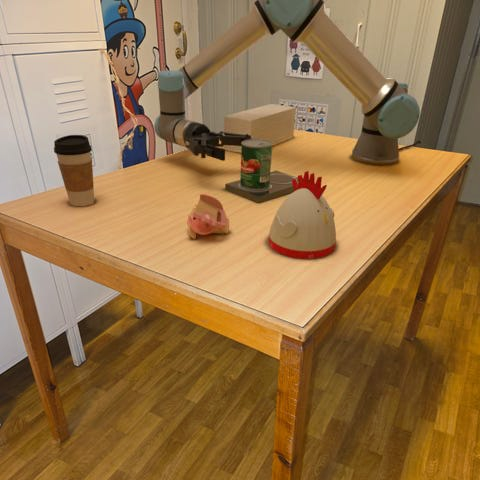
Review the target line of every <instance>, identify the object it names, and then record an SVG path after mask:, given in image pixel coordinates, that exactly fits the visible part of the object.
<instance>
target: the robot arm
mask: <svg viewBox="0 0 480 480" xmlns="http://www.w3.org/2000/svg"><path fill="white" fill-rule="evenodd" d="M280 30H281V32H283V34H285V35H286V37H288V39H290V40H291V41H292V43H302V44H303V45H304V46H305V47H306V49H308V50H309V51H310V52H311V53H312V54H313V55H314V56H315V57H316V58H317V60H318V61H320V63H322V65H324V67H325V68H326V69H327V70H328V71H329V72H330V73H331V74H332V75H333V76H334V77H335V78H336V79H337V80H338V81H339V82H340V83H341V84H342V85H343V87H345V88H346V89H347V90H348V92H349V93H350V94H351V95H352V96H353V97H354V98H355V99H356V100H357V101H358V102H359V103H360V104H361V113H362V114H363V120H362V126H361V132H360V134H359V137H358V139H357V141H356V143H355V145H354V147H353V148H352V151H351V158H352V160H354V161H356V162H359V163H363V164H367V165H373V166H389V165H394V164H398V162H399V159H400V151H402V150H406V149H409V148H413V147H415V146H417V144H421V140H416V141H415V142H414V143H413V144H409V145H406V146H402V147H399V139H401V138H404V137H406V136H407V135H409V134H410V133H411V132H412V131H414V129H415V128H416V126H417V124H418V123H419V120H420V113H421V112H420V111H421V110H420V106H419V103H418V101H417V100H416V98H415V97H414V96H412V95H410V94H409V93H408V92H409V90H408V89H409V85H408V84H407V83H405V82H397V80H396V79H395V78H394V77H389V78H388V77H387V78H386V77H385V76H384V75H383V74H382V73H381V72H380V71H379V70H378V69H377V67H375V65H373V63H372V62H371V60H369V59H368V58H367V57H366V56H365V54H363V52H361V50H360V49H359V48H358V47H357V46H356V45H355V44H354V42H353V41H352V40H351V39H350V38H349V37H348V36H347V35H346V34H345V33H344V32H343V31H342V29H341V28H340V27H339V26H338V25H337V24H336V23H335V22H334V20H332V19H331V18H330V17H329V15H328V14H327V13H326V2H325V1H324V0H256V1H254V2H253V4H252V9H251V10H250V11H248V13H246V14H245V15H244V16H243V17H241V18H240V19H239V20H238V21H236V22H235V23H234V24H233V25H231V26H230V27H229V28H228V29H226V30H225V31H224V32H223V33H222V34H221V35H219V36H218V37H217V38H216V39H214V41H212V42H211V43H209V44H208V45H207V46H206V47H205V48H204V49H202V50H201V51H200V52H199V53H197V54H196V55H195V56H193V58H191V59H190V60H189V61H187V63H185V64H184V65H183V66H182V67H180V68H179V69H178V70H173V69H171V70H170V69H168V70H160V71H159V72H158V73H157V88H158V101H159V115H158V116H157V117H156V119H155V121H154V124H153V127H154V132H155V134H156V135H157V137H158V138H159V139H162V140H164V141H165V142H168V143H172V144H175V145H178V146H181V147H184V148H186V150H190V152H191V153H192V154H193V155H194V156H195V157H198V156H200V155H201V156H200V158H201V159H206V157H210V158H213V159H216V160H219V161H222V162H224V161H226V150H225V149H224V145H231V146H242V144H241V142H242V141H244V140H249V139H251V135H248V134H246V135H243V134H234V133H226V132H224V130H223V131H219V132H215V131H211V130H210V128H209V126H207V124H205V123H201V122H197V121H195V120H191V119H186V99H187V98H188V97H190V96H191V95H192V94H194V93H195V92H196V91H197V90H198V89H199V88H201V87H202V86H204V85H205V84H206V83H207V82H209V81H210V80H211V79H212V78H214V77H215V76H216V75H217V74H219V73H220V72H222V71H223V70H224V69H225V68H227V66H229V65H231V64H232V63H233V62H234V61H235V60H237V59H238V58H240V56H242V55H243V54H244V53H246V52H247V51H248V50H249V49H251V48H252V47H253V46H254V45H256V44H257V43H258V42H259V41H261V40H262V39H263V38H265V37H266V36H269V37H272V36H274V35H275V34H276V33H277V32H279V31H280Z"/></svg>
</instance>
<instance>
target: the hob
mask: <svg viewBox="0 0 480 480" xmlns="http://www.w3.org/2000/svg"><path fill="white" fill-rule="evenodd" d="M292 179H296V181H297V184H298V176H295V175H291V174H288V173H285V172H282V171H279V170H272V171H270V183H269V185H270V186H269V188H267V189H264V190H247V189H244V188H242V187H241V186H240V179H239V180H235V181H230V182H228V183H225V184H224V190H225V191H228V192H230V193H233V194H235V195H237V196H240V197H242V198H245V199H247V200H250V201H252V202H255V203H257V204H258V203H259V204H260V203H263V202H266V201H269V200H273V199H276V198H279V197H282V196H286V195H288V194H291V193H293V192H294V188H293V184H292Z"/></svg>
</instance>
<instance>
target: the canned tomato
mask: <svg viewBox="0 0 480 480" xmlns="http://www.w3.org/2000/svg"><path fill="white" fill-rule="evenodd" d="M241 144H242V148H241V153H240V179H239V180H240V186H241V187H242V188H244V189H247V190H264V189H267V188H269V186H270V185H269V183H270V172H271V168H272V167H271V166H272V156H273V155H272V153H273V146H272V142H270V141H267V140H262V139H249V140H244V141H242V142H241Z"/></svg>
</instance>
